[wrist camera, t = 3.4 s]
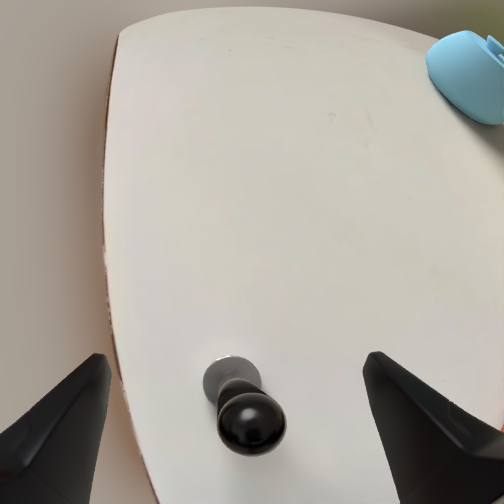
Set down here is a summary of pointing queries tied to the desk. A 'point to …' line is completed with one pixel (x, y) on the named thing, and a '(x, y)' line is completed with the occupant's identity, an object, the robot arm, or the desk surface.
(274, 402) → the black rod on stand
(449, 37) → the sugar bowl
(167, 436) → the desk surface
